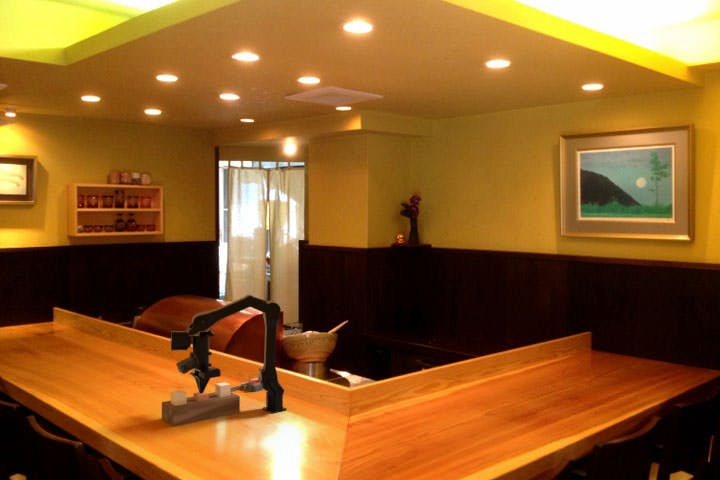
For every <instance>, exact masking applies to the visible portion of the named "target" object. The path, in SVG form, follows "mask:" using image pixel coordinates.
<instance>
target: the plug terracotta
mask: <svg viewBox="0 0 720 480" xmlns="http://www.w3.org/2000/svg"><path fill="white" fill-rule="evenodd" d="M209 393H210V392H209ZM209 393H208V392H207V391H204V392H203V393H199V391H198V392H193V393H192V394H193V396H192V397H194V400H196V401H198V402H199V401H205V400H209Z"/></svg>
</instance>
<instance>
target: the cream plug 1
mask: <svg viewBox="0 0 720 480" xmlns="http://www.w3.org/2000/svg"><path fill="white" fill-rule="evenodd" d="M170 401H171V404H172V405H174V406H179V405H184V404H187V392H186V391H185V390H183V389H179V390H173V391H170Z"/></svg>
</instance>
